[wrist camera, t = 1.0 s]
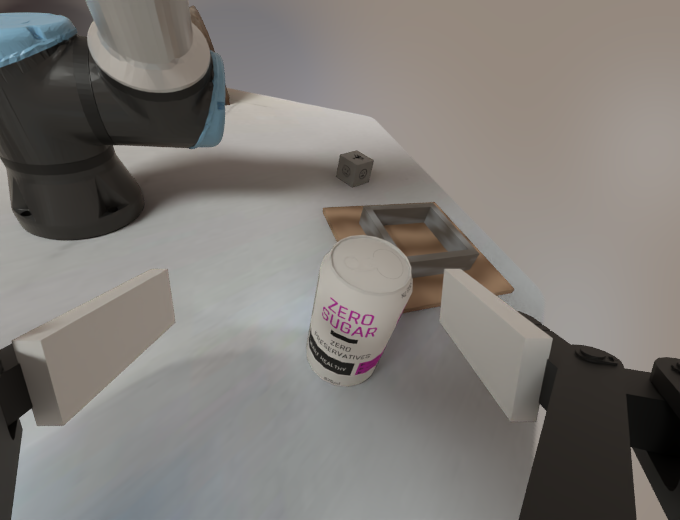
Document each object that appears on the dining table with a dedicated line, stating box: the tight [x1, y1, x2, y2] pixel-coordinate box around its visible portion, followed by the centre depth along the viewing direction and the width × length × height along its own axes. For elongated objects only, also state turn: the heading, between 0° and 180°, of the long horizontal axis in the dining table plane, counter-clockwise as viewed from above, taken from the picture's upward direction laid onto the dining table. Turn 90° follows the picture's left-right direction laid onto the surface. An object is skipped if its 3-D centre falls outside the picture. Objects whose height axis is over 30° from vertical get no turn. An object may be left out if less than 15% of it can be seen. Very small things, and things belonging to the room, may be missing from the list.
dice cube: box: [336, 151, 374, 188], centre depth 66 cm, size 5×5×5 cm
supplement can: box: [306, 235, 413, 387], centre depth 31 cm, size 8×8×15 cm
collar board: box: [323, 202, 514, 313], centre depth 52 cm, size 24×24×5 cm
